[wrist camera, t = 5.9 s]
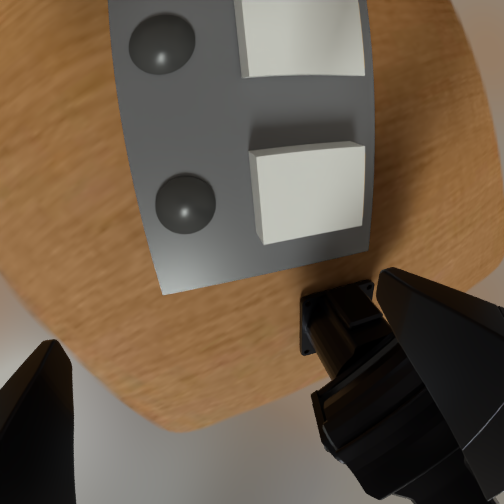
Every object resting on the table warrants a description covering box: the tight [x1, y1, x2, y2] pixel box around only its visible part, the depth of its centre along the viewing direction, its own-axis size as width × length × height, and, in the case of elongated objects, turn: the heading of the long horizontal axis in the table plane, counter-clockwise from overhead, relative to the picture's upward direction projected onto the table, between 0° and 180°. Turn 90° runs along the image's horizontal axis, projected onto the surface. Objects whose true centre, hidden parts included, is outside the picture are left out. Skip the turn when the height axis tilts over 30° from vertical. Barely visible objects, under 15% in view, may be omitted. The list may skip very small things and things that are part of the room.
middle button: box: [234, 0, 365, 78], centre depth 12 cm, size 4×6×2 cm
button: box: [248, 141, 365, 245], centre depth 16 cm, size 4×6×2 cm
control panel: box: [108, 0, 375, 295], centre depth 13 cm, size 26×13×3 cm, turn 5°
